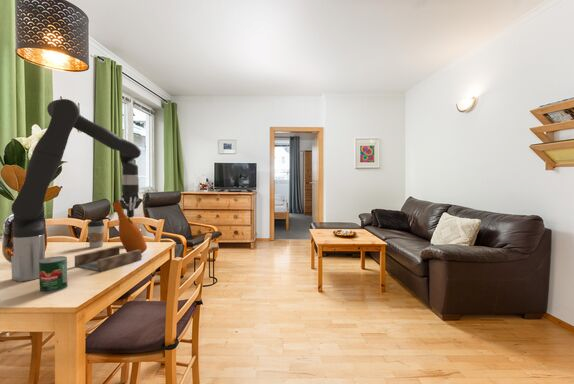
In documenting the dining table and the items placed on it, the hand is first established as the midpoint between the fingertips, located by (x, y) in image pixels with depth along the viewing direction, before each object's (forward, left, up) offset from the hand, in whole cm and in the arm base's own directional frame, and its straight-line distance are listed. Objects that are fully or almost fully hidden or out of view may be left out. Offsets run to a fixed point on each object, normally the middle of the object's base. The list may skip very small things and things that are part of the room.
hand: (130, 217), depth 142 cm
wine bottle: (+4, 0, -19) cm, 19 cm away
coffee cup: (+7, +38, -21) cm, 44 cm away
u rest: (-11, 0, -21) cm, 24 cm away
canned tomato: (-40, -12, -21) cm, 47 cm away
